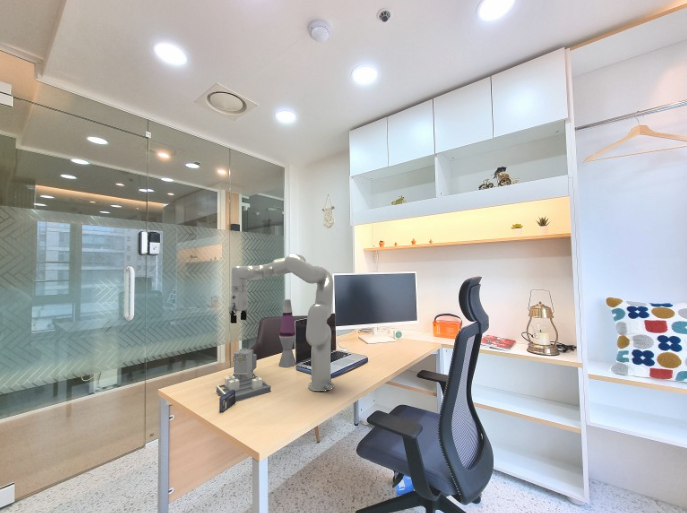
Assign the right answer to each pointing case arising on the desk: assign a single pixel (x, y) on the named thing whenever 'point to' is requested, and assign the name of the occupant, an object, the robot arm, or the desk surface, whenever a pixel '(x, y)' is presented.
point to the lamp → (287, 335)
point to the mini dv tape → (226, 401)
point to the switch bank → (244, 389)
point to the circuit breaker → (244, 363)
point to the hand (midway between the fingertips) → (238, 321)
